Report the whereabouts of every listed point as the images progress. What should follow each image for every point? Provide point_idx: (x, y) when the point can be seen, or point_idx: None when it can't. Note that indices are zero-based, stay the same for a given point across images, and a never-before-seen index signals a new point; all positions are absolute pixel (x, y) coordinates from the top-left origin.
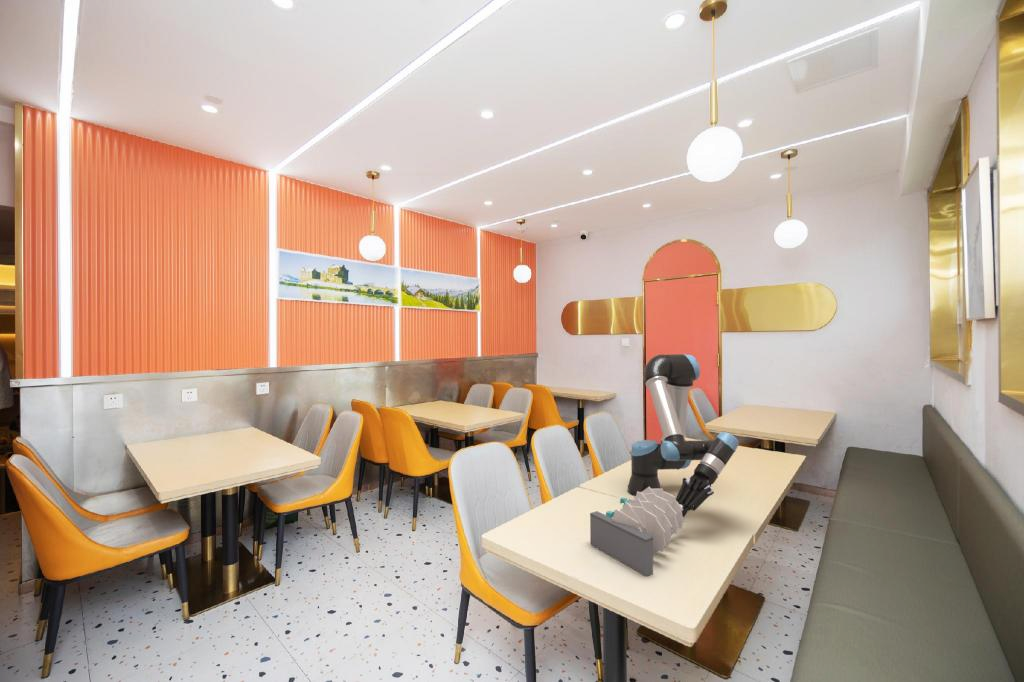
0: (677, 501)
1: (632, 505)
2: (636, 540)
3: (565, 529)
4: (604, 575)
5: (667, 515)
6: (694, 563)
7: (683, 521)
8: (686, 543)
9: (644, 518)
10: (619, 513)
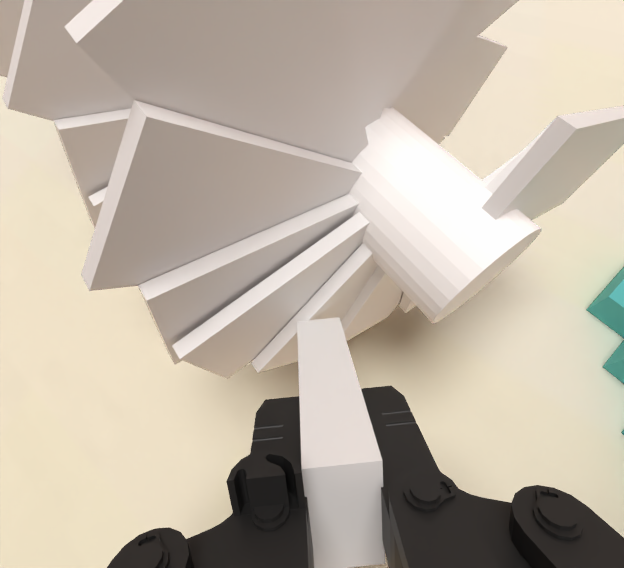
0: (516, 509)
1: None
2: None
3: (525, 8)
4: None
5: (123, 92)
6: (37, 306)
7: (170, 354)
8: (239, 434)
9: None
10: None
